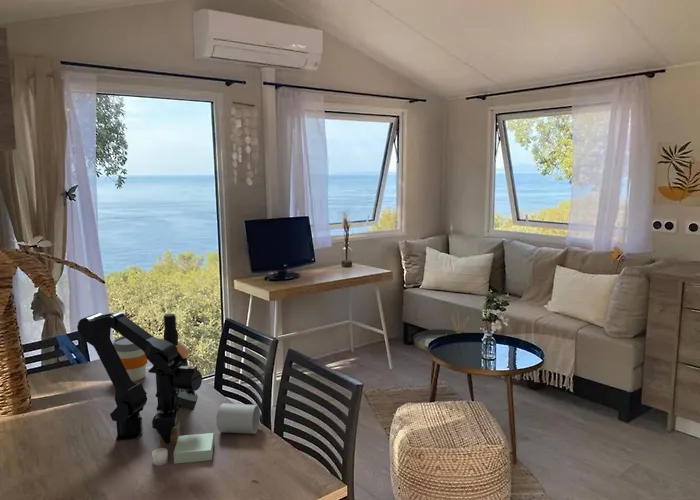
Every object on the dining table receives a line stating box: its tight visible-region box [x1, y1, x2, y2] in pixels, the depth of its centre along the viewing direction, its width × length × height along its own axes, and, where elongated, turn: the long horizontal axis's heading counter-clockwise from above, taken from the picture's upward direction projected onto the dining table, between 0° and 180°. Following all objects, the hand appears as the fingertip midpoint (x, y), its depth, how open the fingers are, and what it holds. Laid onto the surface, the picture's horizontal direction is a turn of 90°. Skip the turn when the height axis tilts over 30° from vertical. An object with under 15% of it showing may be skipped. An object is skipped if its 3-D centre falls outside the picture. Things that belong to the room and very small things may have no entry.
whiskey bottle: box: [161, 313, 189, 413], centre depth 187 cm, size 10×10×32 cm
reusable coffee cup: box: [112, 336, 148, 382], centre depth 214 cm, size 13×12×15 cm
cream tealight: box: [151, 447, 169, 466], centre depth 153 cm, size 4×4×3 cm
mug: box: [216, 402, 261, 435], centre depth 171 cm, size 12×8×11 cm
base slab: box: [173, 432, 215, 465], centre depth 158 cm, size 10×10×3 cm
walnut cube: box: [159, 419, 181, 446], centre depth 165 cm, size 5×5×5 cm
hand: (170, 436), depth 165 cm, fingers open, 9 cm apart
